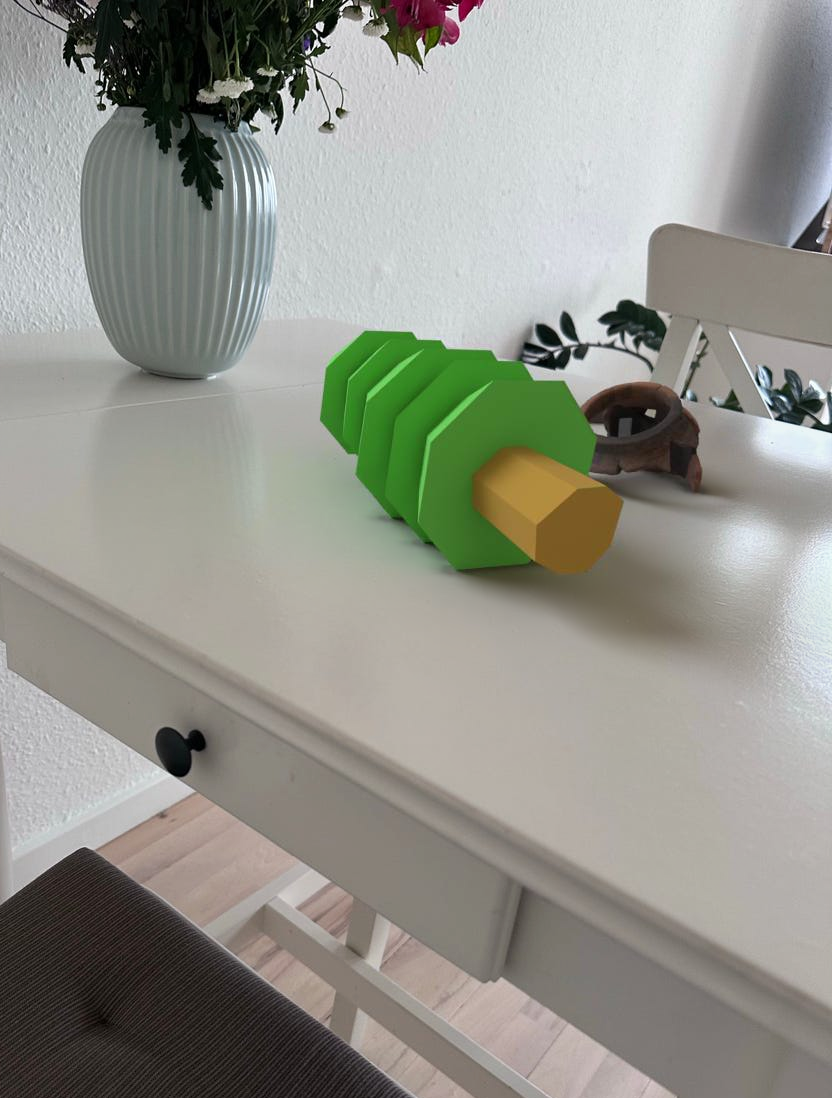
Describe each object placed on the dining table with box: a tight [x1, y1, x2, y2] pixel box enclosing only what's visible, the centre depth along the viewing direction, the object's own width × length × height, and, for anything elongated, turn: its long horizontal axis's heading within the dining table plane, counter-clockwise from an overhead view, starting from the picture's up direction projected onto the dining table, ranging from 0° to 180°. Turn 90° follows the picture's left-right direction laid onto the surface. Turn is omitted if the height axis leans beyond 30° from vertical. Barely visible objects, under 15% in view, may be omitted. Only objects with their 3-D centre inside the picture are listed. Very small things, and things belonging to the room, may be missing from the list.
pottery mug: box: [580, 381, 703, 494], centre depth 70 cm, size 12×10×8 cm
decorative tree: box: [319, 330, 625, 576], centre depth 57 cm, size 11×12×30 cm
